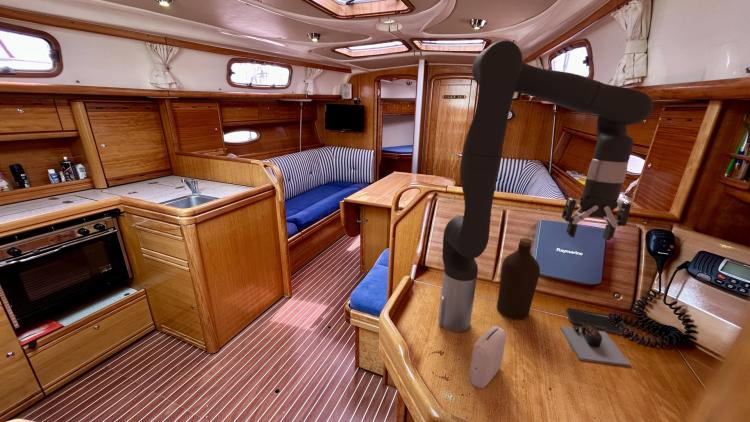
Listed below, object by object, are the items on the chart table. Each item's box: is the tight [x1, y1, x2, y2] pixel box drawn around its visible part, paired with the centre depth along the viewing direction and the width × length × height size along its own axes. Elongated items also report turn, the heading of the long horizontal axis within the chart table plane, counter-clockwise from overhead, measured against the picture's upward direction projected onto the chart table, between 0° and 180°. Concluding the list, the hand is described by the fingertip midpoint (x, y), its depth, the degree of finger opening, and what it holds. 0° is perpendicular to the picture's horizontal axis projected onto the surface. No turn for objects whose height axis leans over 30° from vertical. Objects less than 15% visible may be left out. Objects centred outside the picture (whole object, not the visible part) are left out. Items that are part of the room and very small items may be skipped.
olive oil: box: [496, 237, 541, 321], centre depth 93 cm, size 11×11×25 cm
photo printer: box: [468, 325, 507, 389], centre depth 72 cm, size 10×4×12 cm, turn 133°
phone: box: [565, 307, 629, 336], centre depth 92 cm, size 8×1×15 cm
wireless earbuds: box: [571, 322, 602, 347], centre depth 85 cm, size 5×7×3 cm, turn 166°
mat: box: [560, 326, 631, 367], centre depth 83 cm, size 12×12×1 cm
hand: (588, 237), depth 80 cm, fingers open, 8 cm apart
